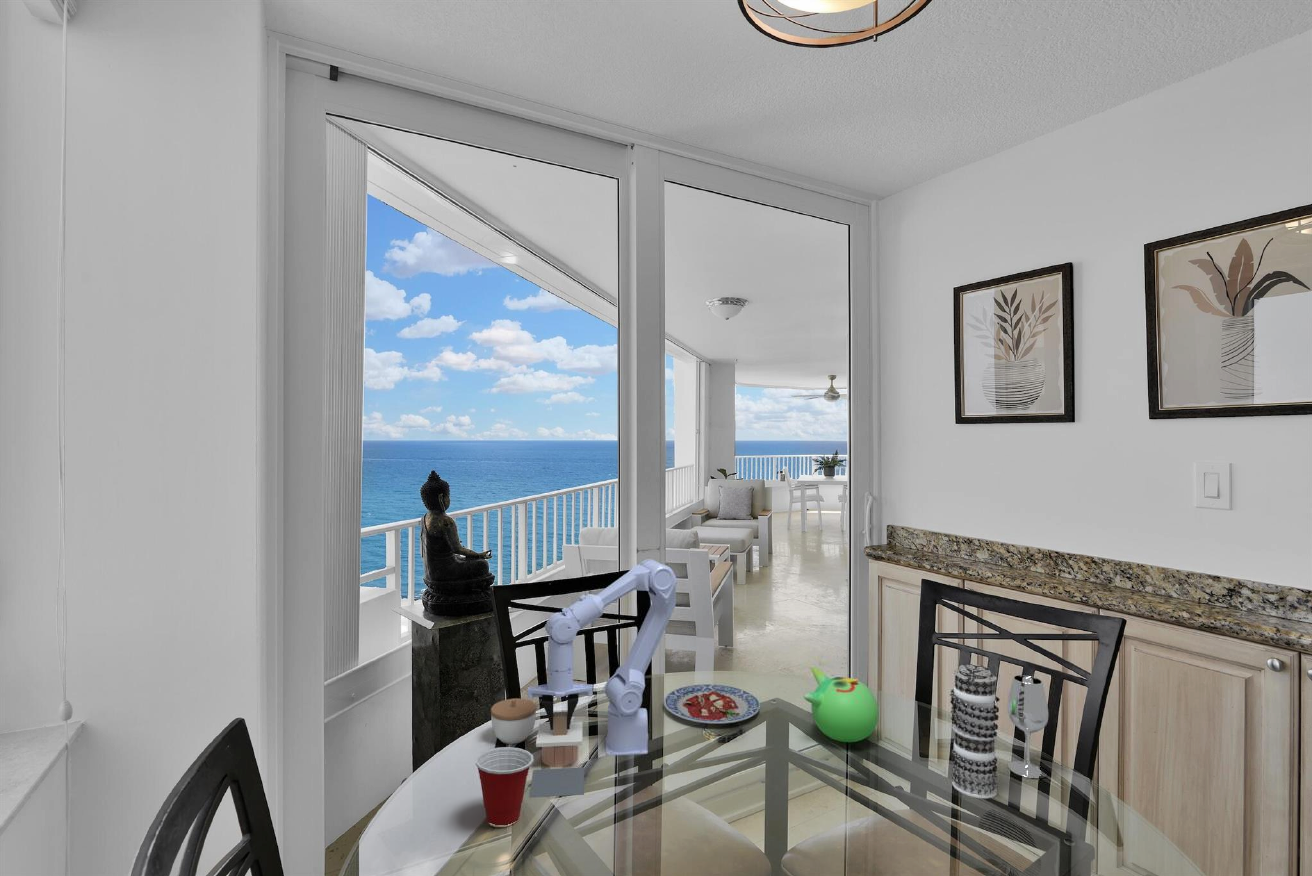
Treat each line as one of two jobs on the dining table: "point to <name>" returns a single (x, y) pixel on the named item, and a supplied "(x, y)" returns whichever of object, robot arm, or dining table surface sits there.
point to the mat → (557, 782)
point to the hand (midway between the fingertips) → (560, 727)
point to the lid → (559, 732)
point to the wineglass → (1027, 717)
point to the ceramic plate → (711, 703)
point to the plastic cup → (503, 782)
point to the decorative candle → (974, 731)
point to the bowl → (559, 755)
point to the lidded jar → (513, 719)
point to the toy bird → (843, 707)
